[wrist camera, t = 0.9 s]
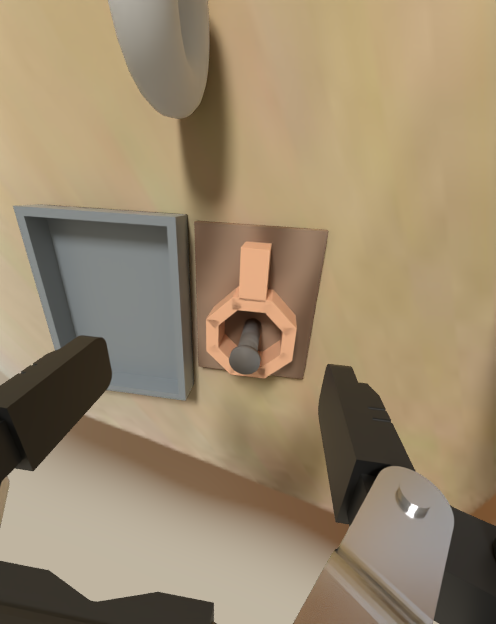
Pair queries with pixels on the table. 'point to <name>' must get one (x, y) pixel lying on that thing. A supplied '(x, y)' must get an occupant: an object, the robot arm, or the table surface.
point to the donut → (165, 50)
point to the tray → (117, 289)
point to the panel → (282, 279)
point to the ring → (254, 299)
